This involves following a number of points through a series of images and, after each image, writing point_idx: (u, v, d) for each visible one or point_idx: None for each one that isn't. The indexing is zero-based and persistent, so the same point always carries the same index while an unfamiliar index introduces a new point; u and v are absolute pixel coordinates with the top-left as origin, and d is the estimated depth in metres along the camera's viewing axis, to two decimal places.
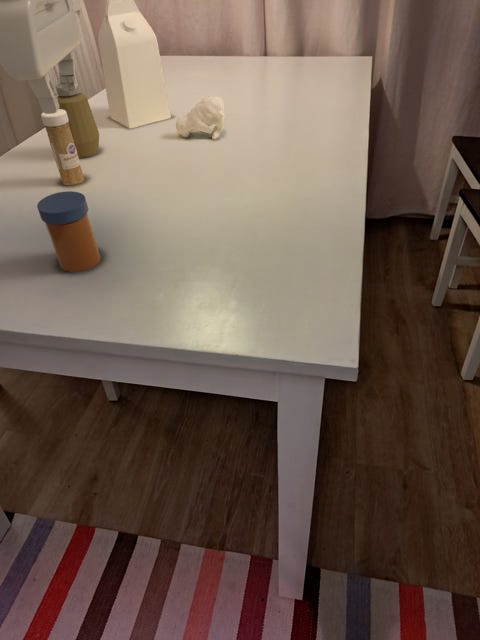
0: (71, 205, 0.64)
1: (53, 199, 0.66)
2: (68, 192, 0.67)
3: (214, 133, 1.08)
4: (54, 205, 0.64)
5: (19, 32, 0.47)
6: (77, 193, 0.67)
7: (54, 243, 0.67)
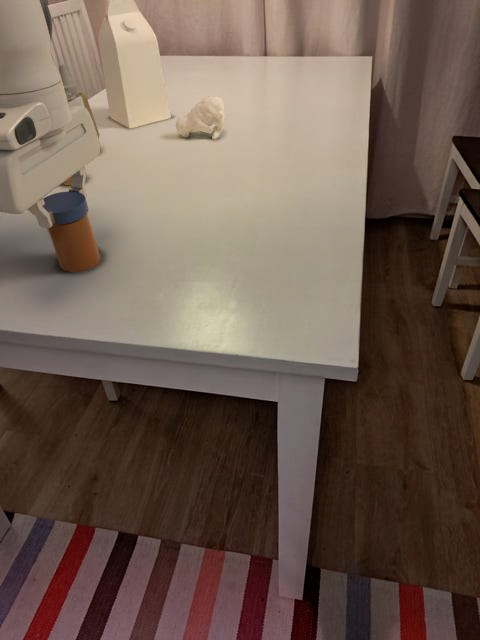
0: (71, 205, 0.64)
1: (53, 199, 0.66)
2: (68, 192, 0.67)
3: (214, 133, 1.08)
4: (55, 205, 0.64)
5: (0, 180, 0.53)
6: (78, 193, 0.67)
7: (54, 243, 0.67)
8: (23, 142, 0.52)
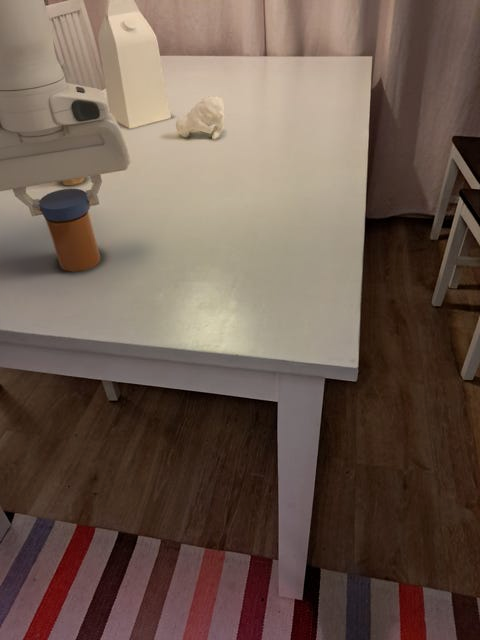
0: (67, 192, 0.67)
1: (60, 203, 0.64)
2: (42, 203, 0.64)
3: (214, 133, 1.08)
4: (71, 198, 0.65)
5: None
6: (41, 199, 0.65)
7: (54, 242, 0.67)
8: None
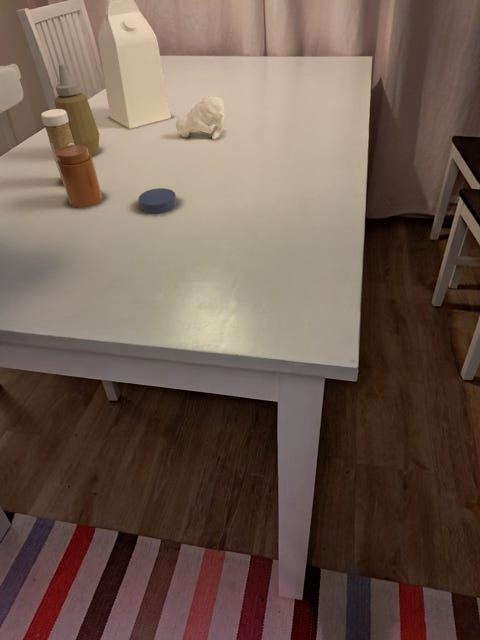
0: (156, 191, 0.85)
1: (158, 200, 0.82)
2: (143, 201, 0.82)
3: (214, 133, 1.08)
4: (163, 195, 0.83)
5: None
6: (140, 198, 0.83)
7: (65, 182, 0.82)
8: None
